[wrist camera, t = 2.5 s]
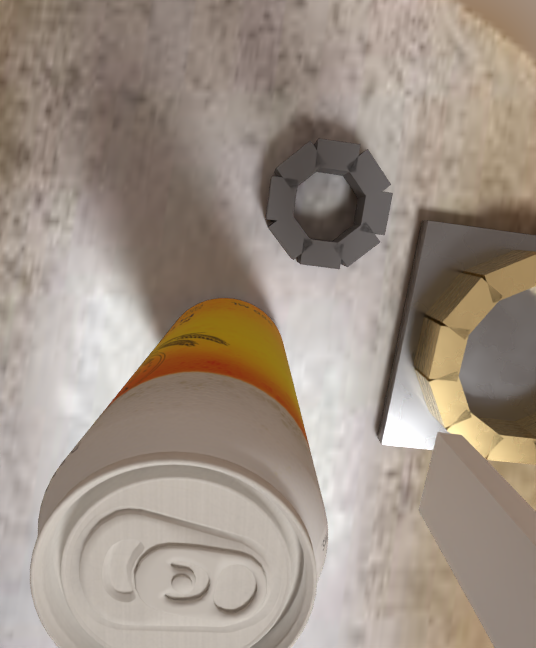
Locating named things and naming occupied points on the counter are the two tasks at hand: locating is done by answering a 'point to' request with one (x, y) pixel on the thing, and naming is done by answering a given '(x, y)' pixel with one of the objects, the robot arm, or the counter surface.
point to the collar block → (467, 344)
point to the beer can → (188, 501)
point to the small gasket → (363, 182)
